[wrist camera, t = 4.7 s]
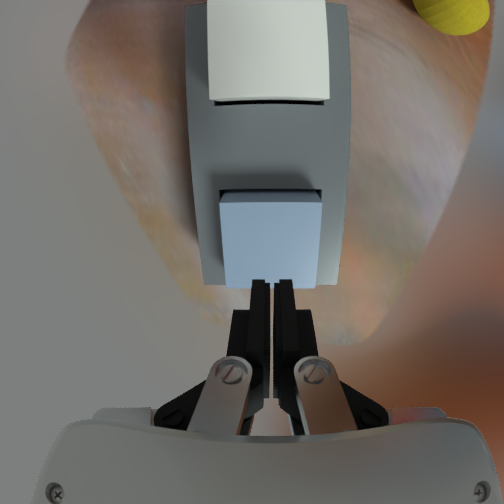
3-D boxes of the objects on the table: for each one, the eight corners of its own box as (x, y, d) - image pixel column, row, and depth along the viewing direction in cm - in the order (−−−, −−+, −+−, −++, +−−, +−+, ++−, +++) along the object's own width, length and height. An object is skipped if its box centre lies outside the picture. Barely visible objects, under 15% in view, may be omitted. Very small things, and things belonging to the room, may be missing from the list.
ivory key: (220, 21, 14) (207, -2, 10) (312, 20, 14) (324, -3, 10) (222, 102, 17) (209, 99, 13) (315, 101, 16) (329, 98, 12)
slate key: (228, 183, 21) (219, 202, 17) (311, 183, 20) (322, 202, 16) (233, 256, 23) (226, 288, 19) (307, 256, 23) (315, 288, 19)
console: (198, 22, 16) (184, 6, 12) (333, 21, 15) (346, 5, 12) (212, 258, 25) (204, 284, 22) (327, 258, 25) (336, 284, 21)
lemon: (385, 0, 14) (430, -34, 6) (420, -21, 12) (468, -49, 5) (429, 51, 15) (488, 39, 8) (460, 27, 13) (517, 16, 6)
